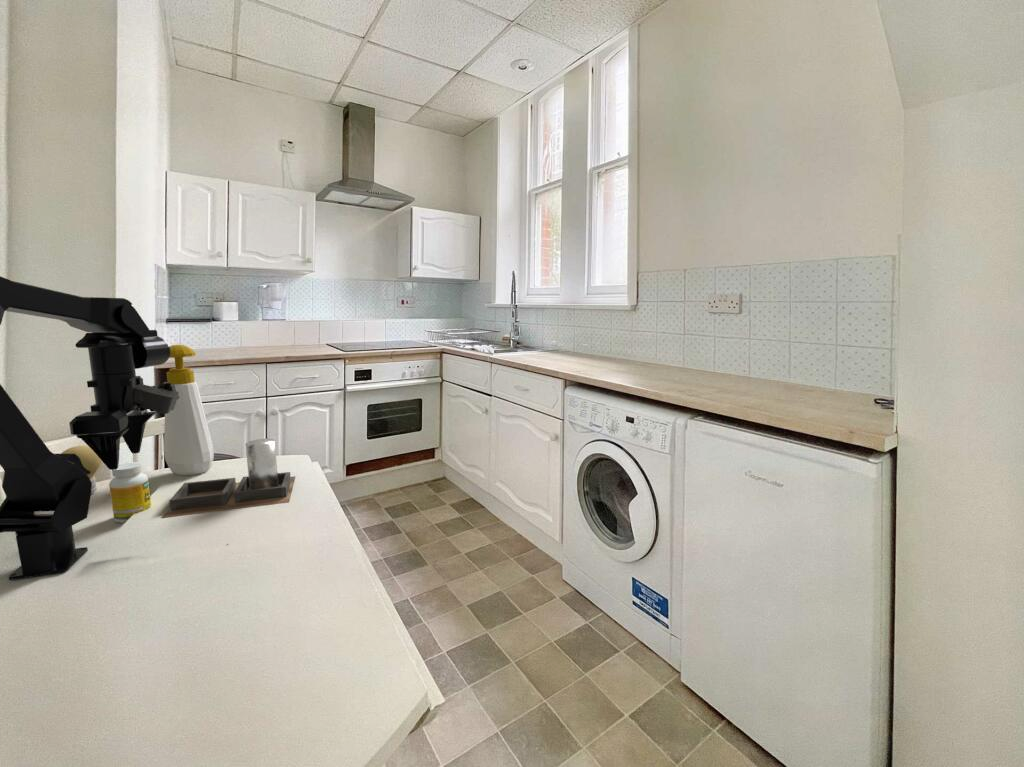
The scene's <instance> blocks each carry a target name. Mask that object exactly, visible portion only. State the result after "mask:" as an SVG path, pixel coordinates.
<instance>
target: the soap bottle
mask: <svg viewBox="0 0 1024 767" xmlns="http://www.w3.org/2000/svg"><path fill="white" fill-rule="evenodd" d="M168 346H169V345H168ZM169 347H170V357H169V359H170V358H171V359H174V365H175V367H173V368H169V369H168V370H169V371H166V379H167V381H166V382H169V383H173V384H174V385H175V389H176V391H177V392H179V395H178V396H179V399H178V400H177V401H176V404H175V407H174V410H171V411H170V412H169V413H167V414H164V431H163V432H164V434H163V455H164V461H165V462H166V464H167V466H168V468H169V470H170V471H171V472H172V473H174V474H175V475H181V476H195V475H196V476H197V475H200V474H201V475H202V474H205V473H207V472H209V471H210V469H211V468H212V466H213V463H214V458H215V456H214V453H215V452H214V444H213V440H212V437H211V434H210V430H209V425H208V421H207V417H206V414H205V409H204V405H203V402H202V398H201V394H200V390H199V385H198V383H197V382H196V381H195V374H194V372H195V371H194V370H193V369H191V367H184V365H185V364H184V358H186V357H187V358H189V357H194V356H196V351H194V349H192V348H190V347H189V346H186V345H183V344H174V345H172V344H171V345H170V346H169Z"/></svg>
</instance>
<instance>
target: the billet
mask: <svg viewBox="0 0 1024 767" xmlns="http://www.w3.org/2000/svg"><path fill="white" fill-rule="evenodd" d="M276 449H277V448H276V441H275V439H274V438H258V439H253V440H250V441H248V442H246V443H245V452H246V462H247V473H248V476H249V487H250V490H251V489H260V488H269V487H278V486H279V485H278V473H279V472H278V463H277V461H278V460H277V450H276Z"/></svg>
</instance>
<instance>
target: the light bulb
mask: <svg viewBox="0 0 1024 767" xmlns="http://www.w3.org/2000/svg"><path fill="white" fill-rule="evenodd" d="M60 454H76V455H77V456H78V457H79V458H80V460H81V462H82V464H83V466H84V467H85V468H86V469H87V470H89V471H90V472H91V473H90V474H87V475H88V477H89V478H90V480H91V483H92V487H91V495H94V493H95V492H97V490H98V487H97V482H96V481H97V480H96V477H95V474H96V473H97V471H98V470H99V469H100V467H101V465H102V460H101V459H100V458H99V457H98V456H97V455H96V453H95V452H94V451H93V450H92V449H91V448H90V447H89V446H88V445H76V446H72V447H69V448H67V449H65V450H63V451H62V452H61V453H60Z"/></svg>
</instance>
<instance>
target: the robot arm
mask: <svg viewBox="0 0 1024 767" xmlns="http://www.w3.org/2000/svg"><path fill="white" fill-rule="evenodd" d="M5 312H10V313H15V314H21V315H22V314H23V315H29V316H35V317H40V318H41V317H42V318H46V319H53V320H59V321H62V322H65V323H67V325H68V326H69V327H72V328H75V329H76V330H77V329H78V330H80V331H84V332H86V333H85V334H84V336H83V337H82V338H80V339H79V340H78V341H77V342H76V343H75V347H76V349H77V348H78V349H88V350H87V351H88V358H89V365H90V371H91V379H90V380H87V381H86V384H87V386H86V387H87V388H93V393H94V402H95V404H91V405H90V411H86V412H84V413H81V414H79V415H76V416H75V417H73V418H72V419H71V421H70V422H68V423H69V431H70V435H72V436H76V438H77V439H81V440H82V441H83V442H84V443H85V444H86V446H89V447H90V448H91V449H92V450H93V451H94V452H95V453H96V455H97V456H98V457H99V458H100V459H101V460H102V461H101V463H103V464H104V466H106V467H107V469H108V470H111V471H112V470H113V469H117V468H118V465H120V464H119V463H120V447H121V446H120V442H121V438H122V439H123V440H124V443H125V444H126V446H127V447H128V449H129V451H130V452H131V454H133V455H134V454H139V453H140V451H141V448H142V444H143V438H144V432H145V429H146V424H147V422H148V421H149V420H150V419H151V418H152V417H153V416H155V415H156V414H157V413H158V414H162V415H165V414H167V413H169V412H170V411H171V410H174V407H175V404H176V401H177V400H178V399H179V396H178V395H179V392H177V391H176V389H175V385H174V384H173V383H169V382H168V381H164V382H162V383H161V384H159V386H156V385H152V386H151V385H148V384H147V385H146V384H144V379H143V377H141V375H137V374H136V370H137V369H138V370H139V369H143V368H149V367H155V366H160V365H163V364H165V363H166V362H168V361H169V359H170V358H169V357H170V347H169V345H168V342H166V340H164V339H163V337H160V336H159V335H158V331H157V329H150V328H149V327H148V325H147V324H146V323H145V321H144V320H143V318H142V317H141V315H140V314H139V312H138V311H137V309H136V308H135V307H134V306H133V303H132V302H131V301H130V300H129V299H126V298H124V297H99V296H98V297H96V296H95V297H94V296H93V297H92V296H89V297H88V296H80V295H75V294H72V293H66V292H62V291H59V290H54V289H50V288H45V287H42V286H41V287H40V286H35V285H32V284H27V283H22V282H18V281H13V280H11V279H9V278H6V277H4V276H0V326H1V324H2V322H3V318H4V315H5ZM148 410H149V411H148ZM0 467H1V468H2V469H3V470H4V473H3V478H2V484H1V487H2V488H1V489H2V491H3V492H4V493H5V495H6V497H5V498H4V500H3V502H2V503H1V504H0V533H11V532H12V533H14V532H15V540H16V545H17V551H18V556H19V563H20V566H18V567H17V568H16V569H15V570H14V571H13V572H11V573H10V574H9V575H8V576H7V577H8V580H11V581H12V580H17V579H25V578H31V577H37V576H44V575H52V574H58V573H63V572H68V570H70V569H71V567H73V566H74V565H75V563H77V562H78V561H79V560H80V559H81V558H82V557H83V556H84V555H85V554H86V553H87V552H88V550H89V549H88V546H87V547H86V546H85V547H76V543H75V537H74V529H73V526H74V525H76V524H78V523H80V522H82V521H84V520H86V519H87V518H88V513H89V509H90V501H91V495H92V494H91V487H92V483H91V480H90V478H89V477H88V475H87V474H90V473H91V472H90V471H89V470H87V469H86V468H85V467H84V466H83V464H82V462H81V460H80V458H79V457H78V456H77V455H76V454H61V453H53V452H52V451H51V450H50V449H49V447H48V446H47V445H46V444H45V442H44V441H43V439H42V438H41V437H40V435H39V434H38V433H37V432H36V430H35V429H34V427H33V426H32V425H31V424H30V422H29V420H28V419H27V418H26V416H24V414H23V412H22V411H21V409H20V408H19V407H18V405H16V403H15V402H14V401H13V399H12V398H11V397H10V395H9V393H8V392H7V391H6V390H5V388H4V387H3V386H2V384H1V383H0ZM35 512H53V513H35Z"/></svg>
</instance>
